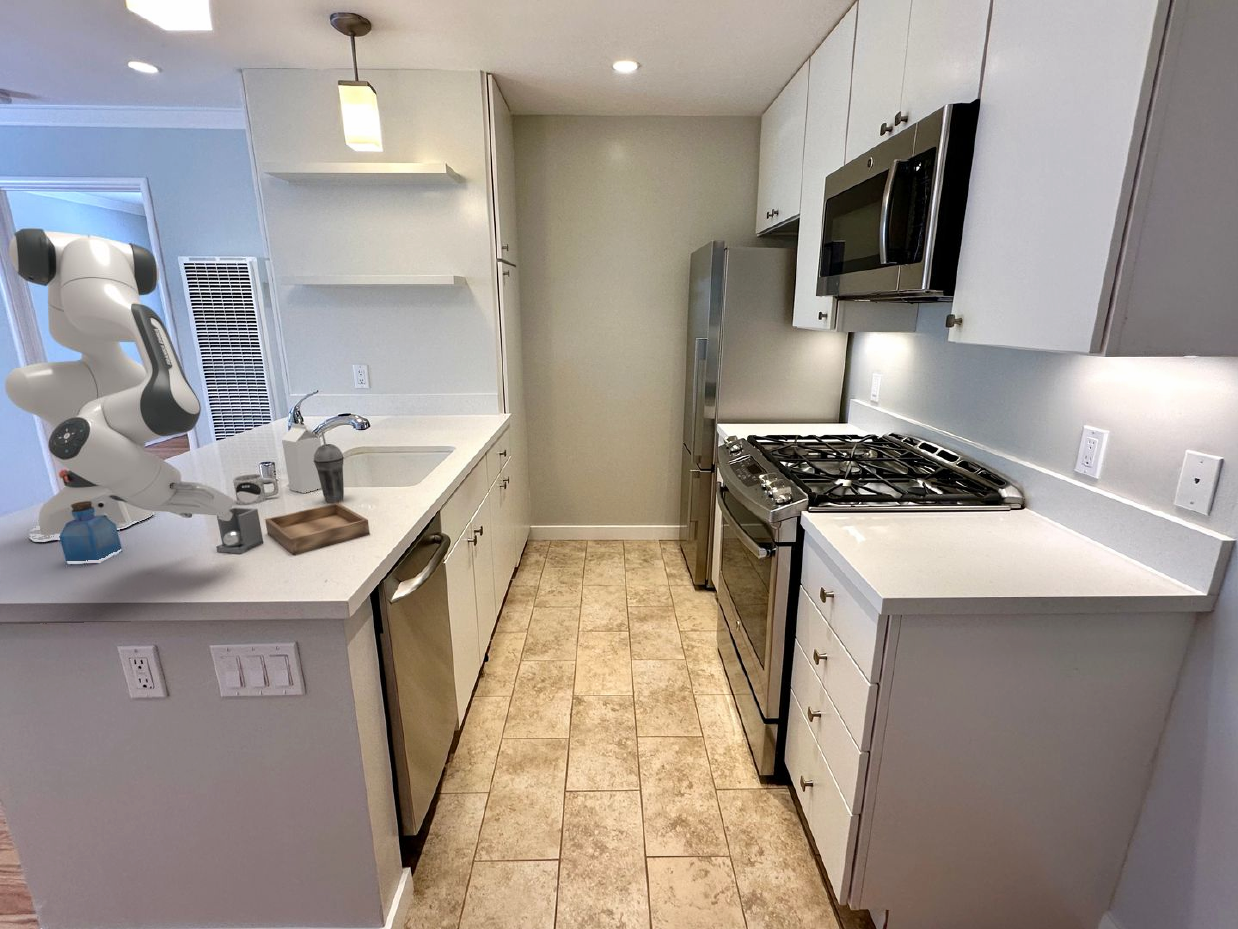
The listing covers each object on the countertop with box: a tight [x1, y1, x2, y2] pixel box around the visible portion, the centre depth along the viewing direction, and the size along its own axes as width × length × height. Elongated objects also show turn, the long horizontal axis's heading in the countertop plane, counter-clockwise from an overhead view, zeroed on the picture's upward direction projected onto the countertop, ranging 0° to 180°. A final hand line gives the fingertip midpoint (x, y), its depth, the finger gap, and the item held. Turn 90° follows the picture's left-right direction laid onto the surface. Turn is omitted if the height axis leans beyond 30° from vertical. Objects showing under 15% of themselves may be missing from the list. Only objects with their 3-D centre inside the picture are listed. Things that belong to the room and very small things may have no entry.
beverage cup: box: [314, 428, 345, 504], centre depth 153 cm, size 7×7×20 cm
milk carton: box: [281, 422, 322, 494], centre depth 164 cm, size 7×7×19 cm
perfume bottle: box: [59, 501, 123, 562], centre depth 118 cm, size 6×6×12 cm
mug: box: [232, 473, 279, 506], centre depth 156 cm, size 10×7×7 cm
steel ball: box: [224, 531, 242, 547], centre depth 122 cm, size 4×4×4 cm
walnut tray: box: [264, 502, 371, 556], centre depth 131 cm, size 16×18×4 cm
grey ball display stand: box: [215, 506, 264, 555], centre depth 123 cm, size 6×6×8 cm
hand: (209, 516), depth 116 cm, fingers open, 8 cm apart
